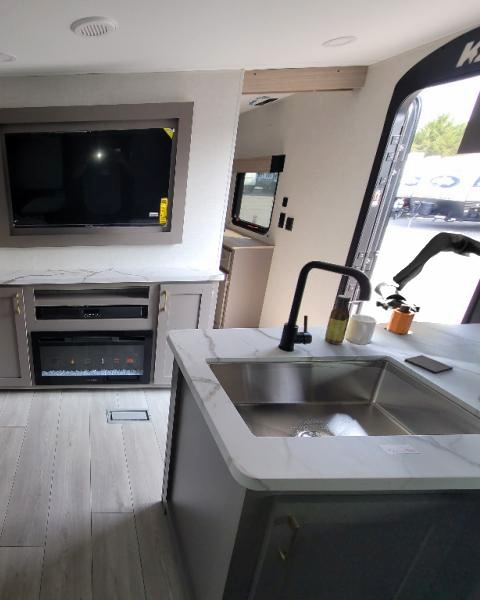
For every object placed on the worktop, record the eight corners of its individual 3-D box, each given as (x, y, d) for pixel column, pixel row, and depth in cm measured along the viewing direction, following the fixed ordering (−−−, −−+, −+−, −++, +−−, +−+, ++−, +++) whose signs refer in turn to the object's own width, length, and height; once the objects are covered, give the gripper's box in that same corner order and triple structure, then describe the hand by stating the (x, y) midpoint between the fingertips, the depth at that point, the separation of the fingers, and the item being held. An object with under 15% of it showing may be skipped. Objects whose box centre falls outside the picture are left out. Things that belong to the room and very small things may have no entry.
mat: (421, 356, 122) (421, 354, 122) (452, 369, 114) (453, 367, 114) (404, 360, 120) (404, 358, 120) (434, 373, 112) (435, 371, 112)
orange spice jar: (386, 326, 144) (393, 307, 141) (405, 329, 141) (412, 310, 138) (389, 331, 139) (395, 312, 136) (408, 334, 136) (416, 315, 133)
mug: (373, 351, 127) (381, 327, 123) (346, 346, 131) (353, 323, 127) (367, 338, 137) (374, 316, 133) (342, 334, 141) (349, 312, 137)
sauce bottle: (344, 346, 132) (358, 300, 125) (326, 343, 134) (338, 298, 127) (339, 338, 137) (351, 294, 130) (321, 336, 139) (333, 293, 132)
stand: (393, 328, 145) (402, 301, 140) (412, 335, 138) (422, 306, 134) (381, 330, 143) (390, 303, 138) (400, 337, 137) (410, 309, 132)
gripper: (376, 289, 158) (381, 299, 145) (416, 294, 150) (425, 305, 138) (371, 303, 160) (376, 314, 148) (411, 309, 153) (419, 321, 140)
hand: (399, 310), depth 143 cm, fingers open, 8 cm apart
